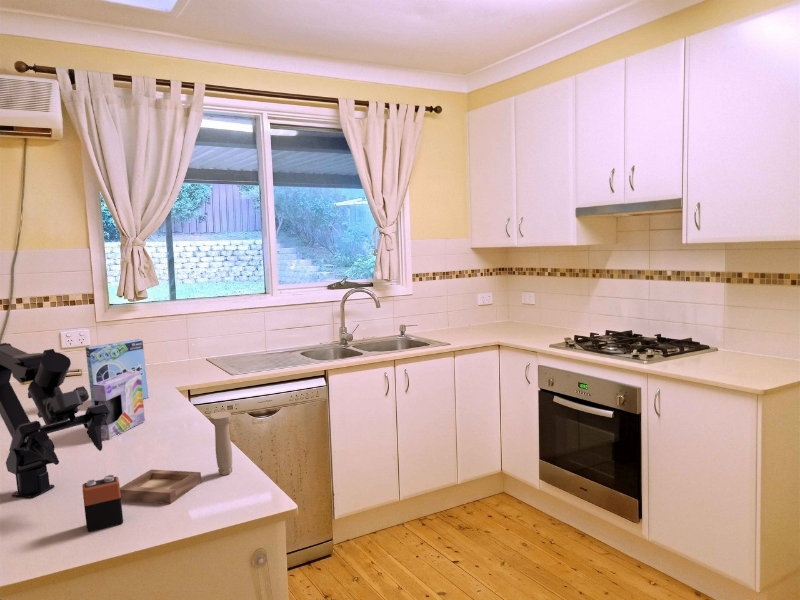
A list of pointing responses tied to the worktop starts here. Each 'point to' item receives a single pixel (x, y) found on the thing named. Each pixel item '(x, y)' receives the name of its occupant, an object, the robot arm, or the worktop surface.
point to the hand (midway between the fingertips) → (79, 456)
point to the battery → (102, 503)
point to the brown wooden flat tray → (160, 486)
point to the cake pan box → (120, 402)
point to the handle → (222, 441)
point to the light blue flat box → (116, 362)
